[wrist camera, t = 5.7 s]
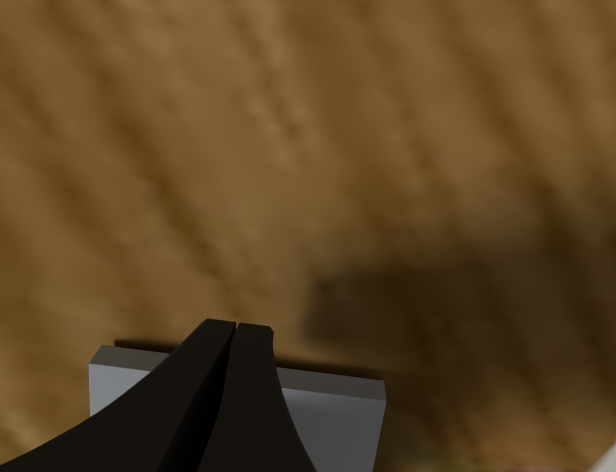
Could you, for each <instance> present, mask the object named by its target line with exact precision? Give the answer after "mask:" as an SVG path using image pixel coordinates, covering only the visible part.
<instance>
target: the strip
mask: <svg viewBox="0 0 616 472" xmlns="http://www.w3.org/2000/svg"><path fill="white" fill-rule="evenodd" d="M169 355H170V354H168V353H160V352H152V351H144V350H136V349H129V348H121V347H113V346H105V345H101V347H100V348H99V350H98V351H97V352H96V354H95V355H94V357H93V358H92V360H91V361H90V363H89V389H90V417H91V416H93V415H94V414H96V413H97V412H99V411H100V410H102V409H103V408H104V407H106V406H107V405H109V404H110V403H111V402H113V401H114V400H116V399H117V398H118V397H120V396H121V395H122V394H123V393H125V392H126V391H127V390H128V389H130V388H131V387H132V386H133V385H135V384H136V383H137V382H138V381H140V380H141V379H142V378H144V377H145V376H146V375H147V374H148V373H150V372H151V371H152V370H153V369H154V368H155V367H156V366H157V365H159V364H160V363H161V362H162V361H163V360H164V359H165V358H166V357H167V356H169ZM276 369H277V374H278V377H279V381H280V384H281V388H282V392H283V395H284V398H285V401H286V404H287V407H288V410H289V412H290V415H291V418H292V420H293V423H294V425H295V428H296V430H297V432H298V435H299V437H300V439H301V441H302V443H303V445H304V447H305V449H306V452H307V454H308V456H309V457H310V459H311V461H312V463H313V465H314V467H315V469H316V470H317V472H373V467H374V462H375V457H376V452H377V447H378V442H379V437H380V432H381V427H382V422H383V417H384V412H385V407H386V402H387V401H386V392H385V384H384V381H382V380H374V379H366V378H358V377H350V376H342V375H334V374H326V373H319V372H311V371H303V370H295V369H287V368H279V367H276Z"/></svg>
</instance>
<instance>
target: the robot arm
mask: <svg viewBox="0 0 616 472" xmlns="http://www.w3.org/2000/svg"><path fill="white" fill-rule="evenodd" d="M273 335H274V332H273V330H272V329H271V328H270V327H269V326H263V325H255V324H247V323H239V325H238V327H237V329H236V322H231V321H223V320H215V319H206V320H205V321H203V322H202V323H201V324H200V325H199V326H198V327H197V328H196V329H195V330H194V331H193V332H192V333H191V334H190V335H189V336H188V337H187V338H186V339H185V340H184V341H183V342H182V343H181V344H180V345H179V346H178V347H177V348H176V349H175V350H174V351H173V352H172V353H171V354H170V355H169V356H167V357H166V358H165V359H164V360H163V361H162V362H161V363H160V364H159V365H157V366H156V367H155V368H154V369H153V370H152V371H151V372H150V373H148V374H147V375H146V376H145V377H144V378H142V379H141V380H140V381H138V382H137V383H136V384H135V385H133V386H132V387H131V388H130V389H128V390H127V391H126V392H125V393H123V394H122V395H121V396H120V397H118V398H117V399H116V400H114V401H113V402H111V403H110V404H109V405H107V406H106V407H104V408H103V409H102V410H100V411H99V412H97V413H96V414H94V415H93V416H91V417H89V418H88V419H86V420H85V421H83V422H82V423H80V424H79V425H77V426H75V427H74V428H72V429H70V430H68V431H66V432H64V433H63V434H61V435H59V436H57V437H55V438H54V439H52V440H50V441H48V442H46V443H44V444H43V445H41V446H39V447H37V448H35V449H33V450H31V451H29V452H27V453H25V454H23V455H21V456H19V457H17V458H15V459H13V460H11V461H8V462H6V463H4V464H2V465H0V472H317V470H316V469H315V467H314V465H313V463H312V461H311V459H310V457H309V456H308V454H307V452H306V449H305V447H304V445H303V443H302V441H301V439H300V437H299V435H298V432H297V430H296V428H295V425H294V423H293V420H292V418H291V415H290V412H289V410H288V407H287V404H286V401H285V398H284V395H283V392H282V388H281V384H280V381H279V377H278V374H277V369H276V364H275V358H274V352H273Z"/></svg>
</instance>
